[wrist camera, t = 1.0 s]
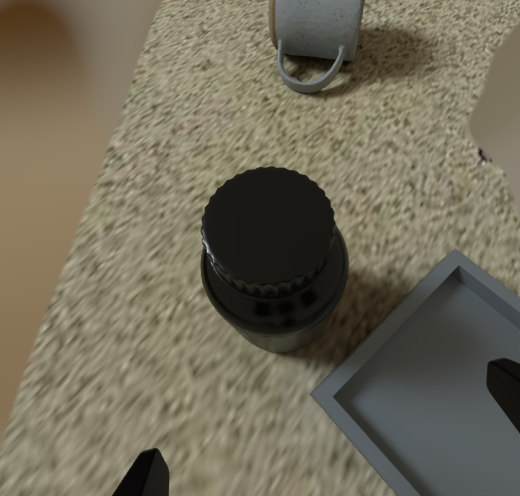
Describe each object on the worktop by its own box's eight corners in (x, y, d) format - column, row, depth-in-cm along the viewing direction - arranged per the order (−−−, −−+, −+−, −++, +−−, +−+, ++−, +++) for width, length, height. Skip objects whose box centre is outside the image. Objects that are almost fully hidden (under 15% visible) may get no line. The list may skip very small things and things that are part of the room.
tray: (641, 417, 17) (682, 421, 16) (505, 621, 15) (536, 655, 13) (441, 259, 22) (455, 248, 20) (309, 393, 19) (311, 395, 17)
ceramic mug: (283, 22, 34) (281, -71, 27) (360, 27, 33) (379, -71, 25) (261, 94, 30) (252, 7, 23) (347, 102, 29) (366, 13, 22)
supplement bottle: (310, 246, 23) (331, 124, 12) (343, 338, 20) (408, 286, 9) (221, 270, 23) (161, 169, 12) (242, 366, 20) (188, 347, 9)
